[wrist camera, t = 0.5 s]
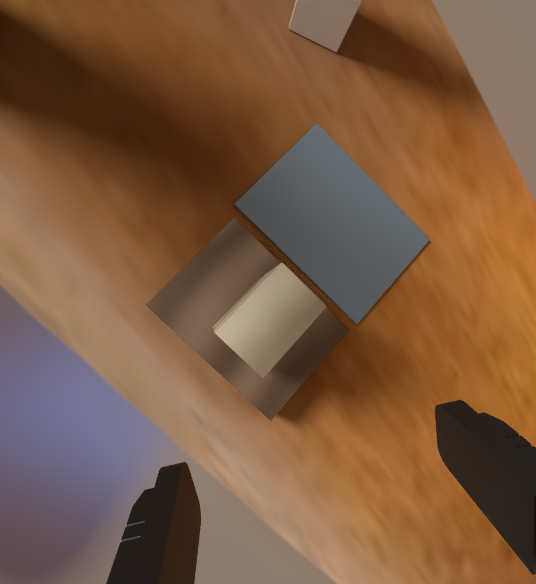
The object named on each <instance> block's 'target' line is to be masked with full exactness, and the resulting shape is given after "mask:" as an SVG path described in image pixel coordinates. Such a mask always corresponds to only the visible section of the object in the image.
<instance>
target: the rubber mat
mask: <svg viewBox="0 0 536 584" xmlns="http://www.w3.org/2000/svg"><path fill="white" fill-rule="evenodd" d="M234 205H235V206H236V207H237V208H238V209H239V210H240V211H241V212H242V213H243V214H244V215H245V216H246V217H247V218H248V219H249V220H250V221H251V222H252V223H253V224H254V225H255V226H256V227H257V228H258V229H259V230H260V231H261V232H262V233H263V234H264V235H265V236H266V237H267V238H268V239H269V240H270V241H271V242H272V243H273V244H274V245H275V246H276V247H277V248H278V249H279V250H280V251H282V252H283V253H284V254H285V255H286V256H287V257H288V258H289V259H290V260H291V261H292V262H293V263H294V264H295V265H296V266H297V267H298V268H299V269H300V270H301V271H302V272H303V273H304V274H305V275H306V276H307V277H308V278H309V279H310V280H311V281H312V282H313V283H314V284H315V285H316V286H317V287H318V288H319V289H320V290H321V291H322V292H323V293H324V294H325V295H326V296H327V297H328V298H329V299H330V300H331V301H332V302H333V303H334V304H336V305H337V306H338V307H339V308H340V309H341V310H342V311H343V312H344V313H345V314H346V315H347V316H348V317H349V318H350V319H351V320H352V321H353V322H354V323H355V324H358V323H359V322H360V320H361V319H362V318H363V317H364V316H365V315H366V313H367V312H368V311H369V310H370V309H371V308H372V306H373V305H374V304H375V303H376V302H377V301H378V300H379V298H380V297H381V296H382V295H383V294H384V293H385V291H386V290H387V289H388V288H389V287H390V286H391V284H392V283H393V282H394V281H395V280H396V279H397V277H398V276H399V275H400V274H401V273H402V272H403V270H404V269H405V268H406V267H407V266H408V265H409V263H410V262H411V261H412V260H413V259H414V258H415V256H416V255H417V254H418V253H419V252H420V251H421V250H422V248H423V247H424V246H425V245H426V244H427V243H428V241H429V240H430V239H429V238H428V237H427V236H426V235H425V234H424V233H423V232H422V231H421V230H420V229H419V228H418V227H417V226H416V224H415V223H414V222H413V221H412V220H411V219H410V218H409V217H408V216H407V215H406V214H405V213H404V212H403V211H402V210H401V209H400V208H399V207H398V206H397V205H396V204H395V203H394V202H393V201H392V200H391V199H390V198H389V197H388V196H387V195H386V193H385V192H384V191H383V190H382V189H381V188H380V187H379V186H378V185H377V184H376V183H375V182H374V181H373V180H372V179H371V178H370V177H369V176H368V175H367V174H366V173H365V172H364V171H363V170H362V169H361V168H360V167H359V166H358V165H357V163H356V162H355V161H354V160H353V159H352V158H351V157H350V156H349V155H348V154H347V153H346V152H345V151H344V150H343V149H342V148H341V147H340V146H339V145H338V144H337V143H336V142H335V141H334V140H333V139H332V138H331V137H330V136H329V135H328V134H327V132H326V131H325V130H324V129H323V128H322V127H321V126H320V125H319V124H318V123H316V124H315V125H314V126H313V127H312V128H311V129H310V130H309V131H308V132H307V133H306V134H305V135H304V136H303V137H302V138H301V139H300V140H299V141H298V142H297V143H296V144H295V145H294V146H293V147H292V148H291V149H290V150H289V151H288V152H287V153H286V154H285V155H284V156H283V157H282V158H281V159H280V160H279V161H278V162H277V163H276V164H275V165H274V166H273V167H271V168H270V169H269V170H268V171H267V172H266V173H265V174H264V175H263V176H262V177H261V178H260V179H259V180H258V181H257V182H256V183H255V184H254V185H253V186H252V187H251V188H250V189H249V190H248V191H247V192H246V193H245V194H244V195H243V196H242V197H241V198H240V199H239V200H238V201H237V202H236V203H235V204H234Z"/></svg>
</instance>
